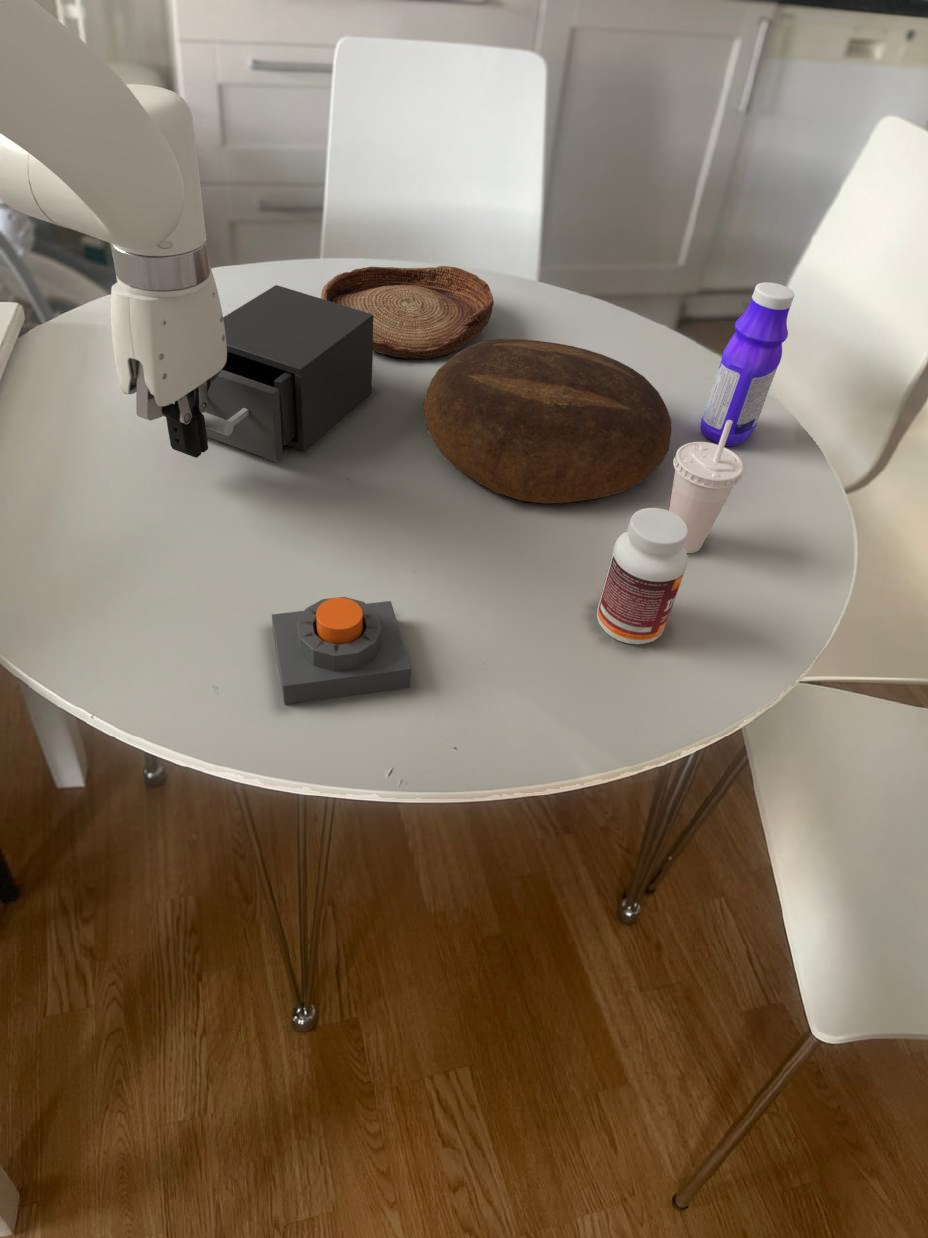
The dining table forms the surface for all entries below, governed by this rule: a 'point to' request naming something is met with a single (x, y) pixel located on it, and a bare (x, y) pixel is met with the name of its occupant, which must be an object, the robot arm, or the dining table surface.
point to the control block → (339, 655)
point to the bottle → (748, 365)
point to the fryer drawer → (252, 407)
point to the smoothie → (703, 485)
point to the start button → (339, 621)
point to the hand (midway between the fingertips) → (189, 449)
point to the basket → (416, 307)
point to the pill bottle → (643, 577)
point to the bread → (546, 420)
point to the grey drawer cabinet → (308, 353)
